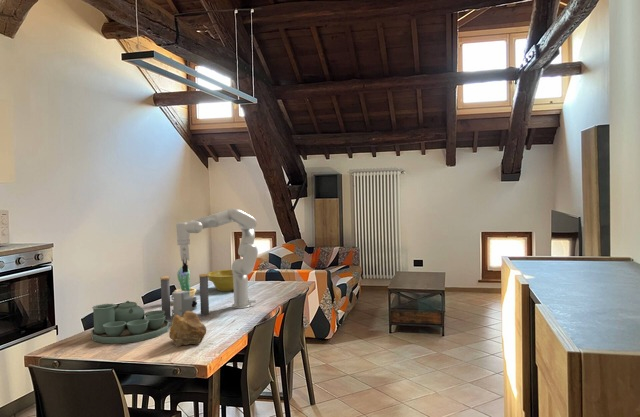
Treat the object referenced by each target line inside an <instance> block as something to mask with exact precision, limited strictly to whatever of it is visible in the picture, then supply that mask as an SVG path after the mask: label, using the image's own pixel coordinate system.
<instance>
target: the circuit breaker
mask: <svg viewBox="0 0 640 417" xmlns="http://www.w3.org/2000/svg"><path fill="white" fill-rule="evenodd" d="M171 301H172V307H173V309H172V310H171V315H172V318H174V316H175V315H178V316H180V317H182V316H183V314H184V312H186V311H192V312H194V311H195V310H197V305H198V302H197V297H196V296H194V297H190V292H189V291H176V292H174V291H173V292H172V293H171Z"/></svg>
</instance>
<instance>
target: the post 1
mask: <svg viewBox="0 0 640 417" xmlns="http://www.w3.org/2000/svg"><path fill="white" fill-rule="evenodd" d="M170 287H171V286H170V276H161V277H160V295H161V296H160V297H161V298H160V299H161V300H160V301H161V311H165V313H164V316H165V320H169V319H171V315H172V312H171V289H170Z"/></svg>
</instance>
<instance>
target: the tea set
mask: <svg viewBox="0 0 640 417" xmlns="http://www.w3.org/2000/svg"><path fill="white" fill-rule="evenodd" d="M137 304H138V303H137V302H135V301H130V300H126V301H125V302H121V303H120V304H114V303H102V304H96V305H93V306H92V307H91V309H92V313H93V315H92V316H93V329H91V330H90V332H91V339H92V340H93V341H94V342H98V343H102V344H127V343H134V342H141V341H145V340H149V339H153V338H158V337H159V336H161V335H163V334H164V333H167V332H168V330H169V327H170V321H169V320H168V319H165V316H164V313H165V311H162V309H161V310H158V309H157V310H150V311H147V312H145V310H144V309H143V308H142V306H140V305H137ZM117 306H118V307H117Z"/></svg>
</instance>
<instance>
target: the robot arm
mask: <svg viewBox="0 0 640 417" xmlns="http://www.w3.org/2000/svg"><path fill="white" fill-rule="evenodd" d="M230 223H237V225H238V227H239V228H240V230H241V234H242V235H241V240H240V243H239V246H238V250H237V254H238V256H240V257H241V258H236V259H234V261H233V262H232V265H231V270H232V272H233V281H234V290H233V304H232V305H231V308H233V309H245V308H250V307H251V306H252V304H255V303H256V299H250V298H249V278H248V275H251V273H252V272H253V270H254V269H255V265H256V261H257V258H258V256H259V255H258V253H259V252H258V251H259V250H258V248H257V246H256V245H255V244H254V243H255V238H256V231H255V228H256V227H257V225H258V220H256V218H255V217H253V216H252V215H250V214H248V213H246V212H244V211H243V210H241V209H239V208H238V209H237V208H230V209H225V210H222V211H220V212H216V213H212V214H210V215H207V216H202V217H198V218H194V219H192V220H189V221H187V222H186V221H185V222H184V221H183V222H182V221H181V222H177V223H176V225H175V227H176V229H175V230H176V244H177V246H179V255H180V256H179V257H180V260H181V262H182V265H181V267H182V269H183V272H188V269H189V265H188V261H190V248H189V247H190V246H189V245H190V244H191V241H190V240H191V237H190V234H199V233H201V232H202V230H205V229H209V228H210V229H211V228H212V229H213V228H218V227H220V226H224V225H226V224H230Z"/></svg>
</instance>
